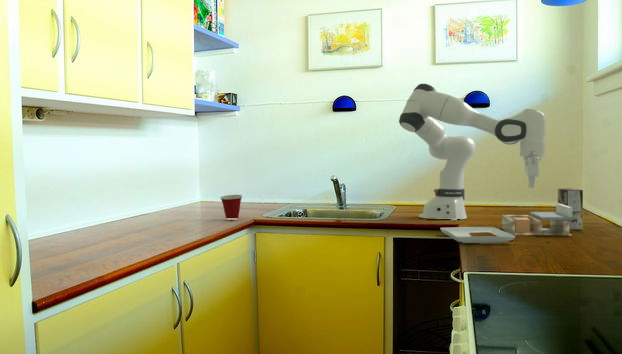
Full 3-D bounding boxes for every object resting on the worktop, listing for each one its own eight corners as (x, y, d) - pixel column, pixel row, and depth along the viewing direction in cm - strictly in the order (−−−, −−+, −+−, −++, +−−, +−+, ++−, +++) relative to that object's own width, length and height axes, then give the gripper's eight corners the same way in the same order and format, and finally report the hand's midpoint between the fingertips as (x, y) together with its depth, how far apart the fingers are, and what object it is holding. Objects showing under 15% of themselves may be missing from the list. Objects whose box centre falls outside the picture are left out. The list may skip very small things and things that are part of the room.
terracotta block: (516, 232, 185) (516, 219, 185) (512, 230, 190) (512, 217, 189) (529, 232, 184) (530, 219, 184) (526, 230, 189) (526, 217, 189)
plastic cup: (216, 220, 235) (215, 196, 234) (229, 217, 244) (229, 194, 244) (234, 222, 230) (233, 197, 229) (247, 219, 239) (246, 195, 238)
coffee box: (583, 229, 194) (584, 190, 193) (567, 229, 195) (567, 190, 194) (571, 226, 204) (572, 188, 203) (556, 226, 204) (556, 188, 203)
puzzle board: (510, 237, 181) (510, 220, 181) (501, 230, 195) (501, 215, 195) (572, 237, 178) (572, 220, 177) (558, 231, 192) (558, 215, 191)
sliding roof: (541, 219, 179) (541, 207, 179) (530, 214, 193) (530, 203, 193) (573, 220, 177) (573, 207, 177) (559, 214, 191) (559, 203, 191)
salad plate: (492, 234, 189) (492, 225, 189) (516, 245, 168) (517, 235, 168) (438, 235, 189) (438, 226, 188) (456, 246, 167) (456, 236, 167)
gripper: (543, 151, 174) (542, 189, 175) (539, 151, 193) (538, 186, 194) (524, 151, 177) (523, 189, 177) (522, 151, 196) (521, 185, 196)
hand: (531, 187), depth 186 cm, fingers closed
